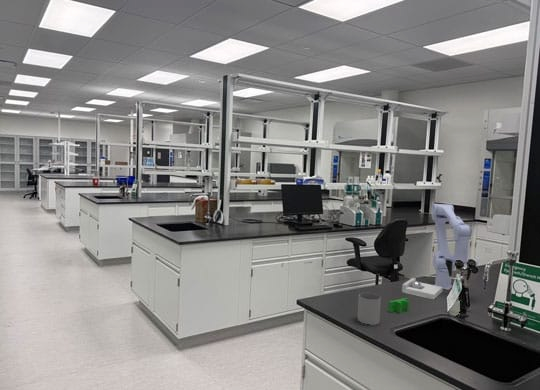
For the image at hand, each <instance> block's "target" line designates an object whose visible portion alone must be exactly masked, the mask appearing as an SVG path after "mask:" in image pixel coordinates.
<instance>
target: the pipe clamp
mask: <svg viewBox="0 0 540 390" xmlns="http://www.w3.org/2000/svg"><path fill="white" fill-rule="evenodd" d="M409 304H410V301H409V298H407V297H405V298H404V297H403V298H399V299H395V300H390V301H388V309H387V311H388V313H394V312H396V313H398V314H402V311H403V312H409Z"/></svg>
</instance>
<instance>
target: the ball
mask: <svg viewBox="0 0 540 390" xmlns="http://www.w3.org/2000/svg"><path fill="white" fill-rule="evenodd" d="M421 283H422V282H420V281H417V280H416V281H414V282H412V284H411V287H412V288H417V289H421V288H422V286H421Z"/></svg>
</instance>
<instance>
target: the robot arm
mask: <svg viewBox="0 0 540 390" xmlns="http://www.w3.org/2000/svg"><path fill="white" fill-rule="evenodd" d="M430 212H431V219H432V221H434V223H435V224H434V225H435V233H436V234H435V235H436V240H437V241H436V243H437V252H436V253H435V254H433V256H432V257H433V258H432V259H433V260H432V266H433V269H435V282H434V284H433V285H435V286H440V287H443V289H442V290H447V291H449V290H451V289H452V287H453V286H452V285H453V284H452V276H453V275H452V274H453V271H454V270H455V269H456V267H455V265H454V263H455V261H456V260H461V261H463V263H464V264H465V265H467V267H466V268H468V264H467V262H468V260H470V259H468V255H469V254H468V252H469V240H470V238H471V237H472V234H473V230H472V229H473V228H472V227H471V224H466V223H465V222H464V221H463V219H462V218H461V217H460V216H457V215H456V214H455V208H454V205H453V204H444V203H442V204H441V203H433V204H432V205H431V211H430ZM446 222H448V223H449V225H450V227H451V229H452V230H453V231H452V232H453V238H454V250H453V251H454V253H453V254H452V253H451V252H450V251H449V245H448V243H449V242H448V237H447V235H448V234H447V227H446ZM474 261H475V262H476V266H475V267H478V264H479V261H477V260H474ZM463 263H462V264H463ZM464 264H463V265H464ZM466 271H467V273H466V280H467V281H469V280H470V276H471V274H472V272H471V270H470V269H466Z"/></svg>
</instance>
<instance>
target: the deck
mask: <svg viewBox="0 0 540 390" xmlns="http://www.w3.org/2000/svg"><path fill="white" fill-rule="evenodd" d="M414 281H417V278H415V277H411V278H409V280H407V281H405V282H404V283H403V284H402V287H401V293H404V294H409V295H413V296H417V297H421V298H425V299H428V300H429V299H430V300H434V301H435V299H436V298H437V297H438V296H439V295H440V294H442V293H443V290H444V289H443V287H440V286H435V285H434V284H429V283H425V282H424V283H423V282H420V283H421V286H422V288H421V289H417V288H412V287H411V284H412V282H414Z"/></svg>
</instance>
